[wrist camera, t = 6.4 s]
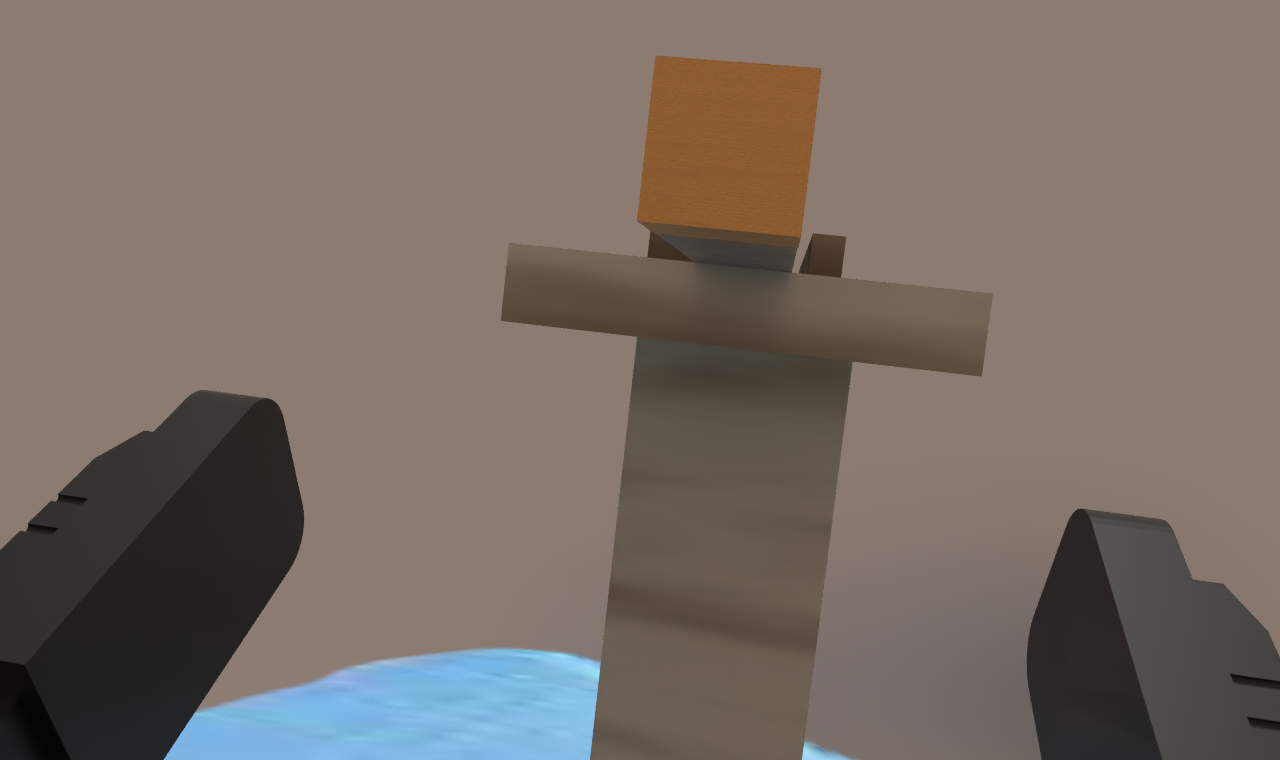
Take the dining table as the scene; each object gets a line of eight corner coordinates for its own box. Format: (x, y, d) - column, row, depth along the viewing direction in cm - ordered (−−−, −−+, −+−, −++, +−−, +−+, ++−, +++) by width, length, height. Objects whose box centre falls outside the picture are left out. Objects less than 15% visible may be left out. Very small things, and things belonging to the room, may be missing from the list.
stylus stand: (860, 1553, 26) (1042, 256, 23) (354, 1415, 28) (475, 199, 25) (827, 1052, 44) (928, 285, 41) (521, 988, 45) (601, 251, 43)
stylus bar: (800, 236, 14) (821, 68, 14) (637, 220, 15) (654, 55, 14) (787, 293, 40) (794, 233, 40) (727, 287, 40) (734, 227, 40)
